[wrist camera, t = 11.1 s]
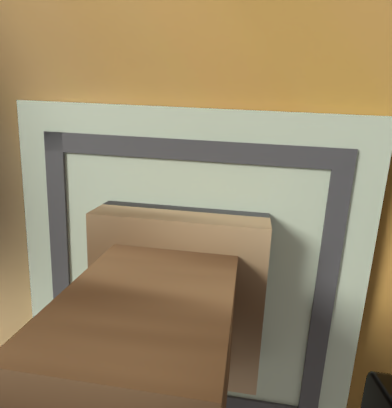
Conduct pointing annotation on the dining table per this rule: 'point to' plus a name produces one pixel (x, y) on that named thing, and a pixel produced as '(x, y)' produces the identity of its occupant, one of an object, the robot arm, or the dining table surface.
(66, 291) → the stamp
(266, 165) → the mat
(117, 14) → the dining table surface
